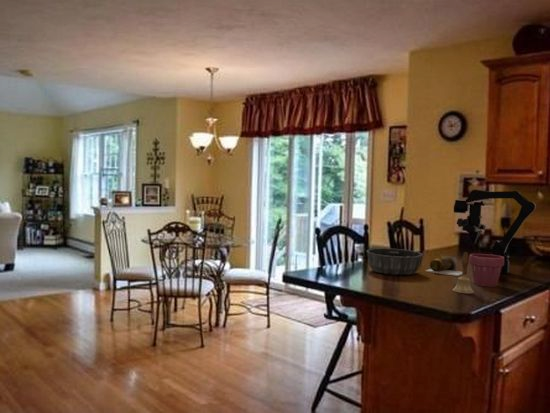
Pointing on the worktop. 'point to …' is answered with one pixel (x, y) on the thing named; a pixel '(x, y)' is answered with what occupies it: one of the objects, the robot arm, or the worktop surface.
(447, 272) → the mat
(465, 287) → the hand bell
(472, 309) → the worktop surface
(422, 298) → the worktop surface
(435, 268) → the condiment
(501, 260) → the plant pot
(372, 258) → the bundt pan
